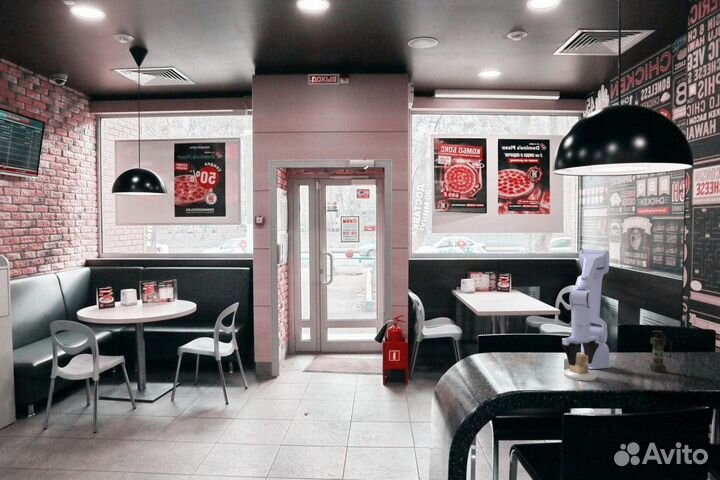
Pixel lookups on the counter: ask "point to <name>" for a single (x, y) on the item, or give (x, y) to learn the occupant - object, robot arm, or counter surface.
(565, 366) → the grey block
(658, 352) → the grenade
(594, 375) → the coaster
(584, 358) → the oak block
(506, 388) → the counter surface
